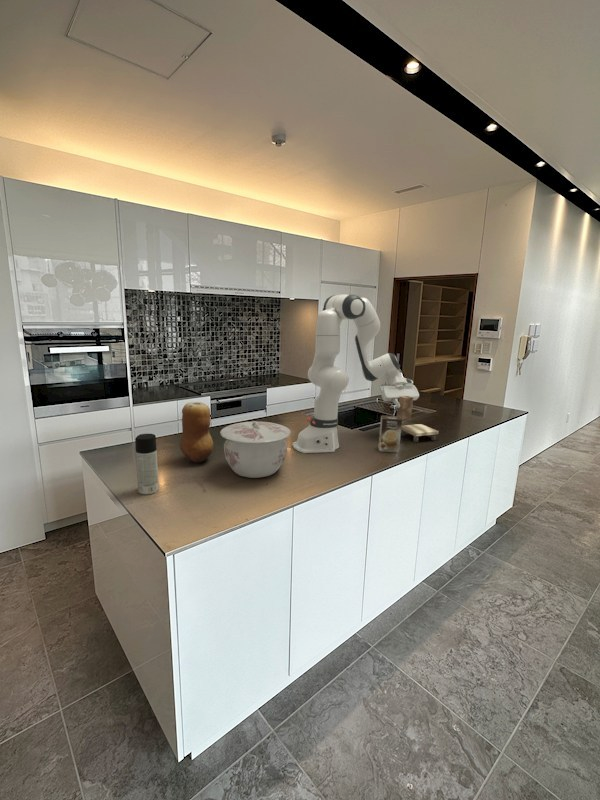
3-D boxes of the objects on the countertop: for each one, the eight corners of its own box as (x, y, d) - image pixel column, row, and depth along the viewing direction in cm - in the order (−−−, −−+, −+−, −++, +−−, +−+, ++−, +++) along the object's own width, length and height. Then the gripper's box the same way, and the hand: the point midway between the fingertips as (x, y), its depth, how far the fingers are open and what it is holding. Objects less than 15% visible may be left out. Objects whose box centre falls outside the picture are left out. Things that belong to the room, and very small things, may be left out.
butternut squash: (220, 459, 165) (219, 402, 160) (197, 469, 154) (195, 408, 149) (196, 452, 172) (194, 398, 167) (173, 462, 161) (170, 403, 155)
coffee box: (379, 451, 180) (381, 418, 177) (378, 447, 186) (380, 415, 183) (399, 452, 179) (402, 419, 176) (397, 448, 186) (400, 416, 182)
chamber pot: (264, 492, 136) (265, 436, 131) (205, 475, 149) (204, 423, 144) (303, 466, 160) (304, 418, 155) (249, 454, 172) (249, 409, 168)
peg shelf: (415, 443, 194) (416, 433, 193) (398, 434, 207) (399, 425, 206) (437, 440, 199) (438, 431, 198) (420, 432, 212) (421, 423, 211)
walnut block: (402, 419, 190) (404, 398, 188) (396, 417, 194) (398, 395, 192) (410, 419, 192) (413, 397, 189) (404, 416, 196) (406, 395, 194)
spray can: (161, 486, 138) (158, 433, 134) (155, 495, 131) (151, 439, 127) (142, 486, 138) (139, 432, 133) (135, 495, 131) (131, 439, 127)
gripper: (381, 381, 192) (390, 404, 185) (415, 380, 199) (425, 402, 192) (375, 388, 197) (384, 411, 190) (409, 387, 204) (418, 409, 197)
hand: (405, 407), depth 191 cm, fingers closed on walnut block, 5 cm apart
